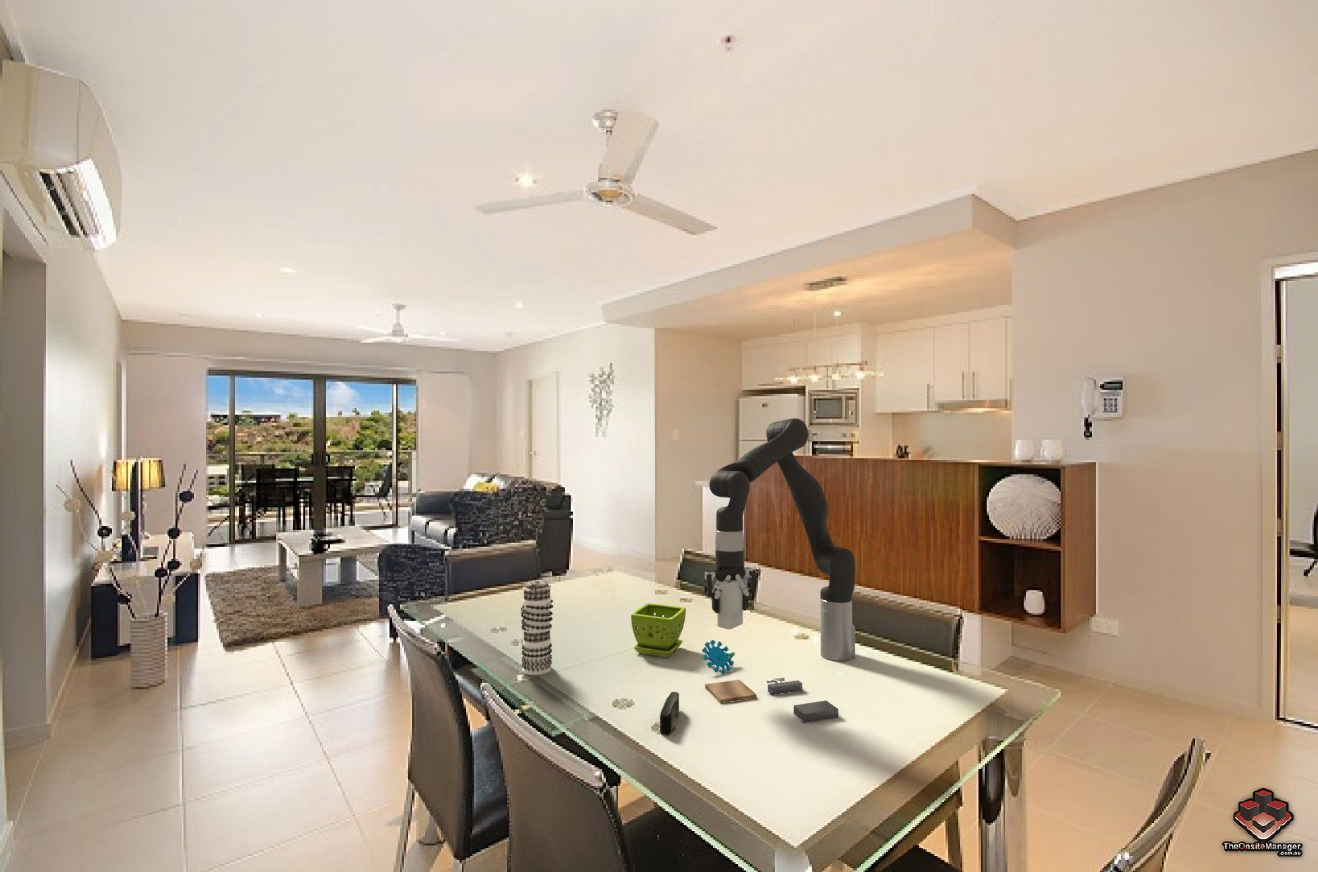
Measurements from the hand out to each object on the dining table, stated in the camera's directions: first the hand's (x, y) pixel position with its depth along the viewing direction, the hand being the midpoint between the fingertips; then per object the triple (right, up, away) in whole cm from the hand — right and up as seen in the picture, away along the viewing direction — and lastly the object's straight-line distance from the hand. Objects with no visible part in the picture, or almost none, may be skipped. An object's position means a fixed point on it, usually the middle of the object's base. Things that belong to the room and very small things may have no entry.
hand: (730, 611), depth 154 cm
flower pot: (-19, -22, +32) cm, 43 cm away
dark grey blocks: (+16, -21, -6) cm, 27 cm away
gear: (-1, -22, +16) cm, 27 cm away
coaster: (0, -21, 0) cm, 21 cm away
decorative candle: (-54, -22, +16) cm, 60 cm away
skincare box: (0, -4, 0) cm, 4 cm away
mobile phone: (-16, -21, -15) cm, 31 cm away
